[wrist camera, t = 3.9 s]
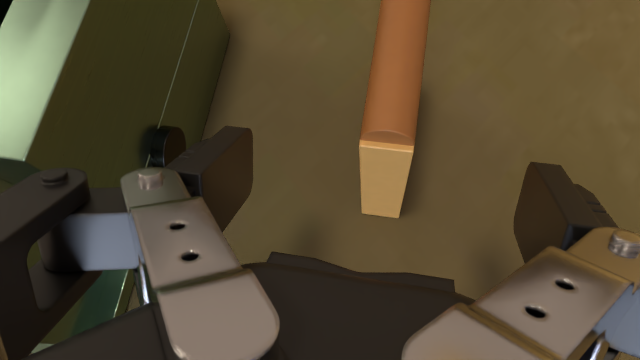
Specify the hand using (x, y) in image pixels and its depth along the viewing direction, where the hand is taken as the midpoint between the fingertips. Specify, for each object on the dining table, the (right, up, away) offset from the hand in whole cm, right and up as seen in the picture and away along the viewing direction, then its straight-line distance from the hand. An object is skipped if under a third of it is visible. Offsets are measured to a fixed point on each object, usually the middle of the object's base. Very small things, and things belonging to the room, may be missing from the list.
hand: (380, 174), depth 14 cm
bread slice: (+2, +1, +13) cm, 13 cm away
